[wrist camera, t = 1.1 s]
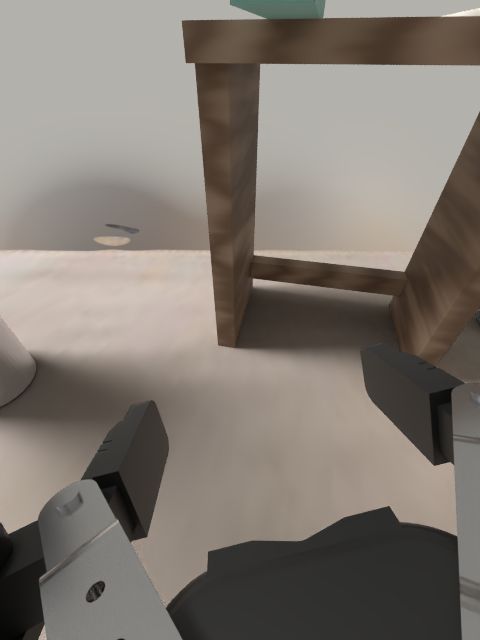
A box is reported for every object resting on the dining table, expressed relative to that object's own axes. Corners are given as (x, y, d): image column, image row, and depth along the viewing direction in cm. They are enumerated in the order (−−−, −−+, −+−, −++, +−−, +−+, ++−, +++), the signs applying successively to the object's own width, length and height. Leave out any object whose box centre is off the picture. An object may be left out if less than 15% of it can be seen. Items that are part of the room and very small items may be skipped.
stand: (214, 350, 40) (180, 11, 18) (238, 282, 52) (236, 22, 29) (430, 385, 36) (740, -1, 14) (405, 303, 47) (553, 18, 25)
